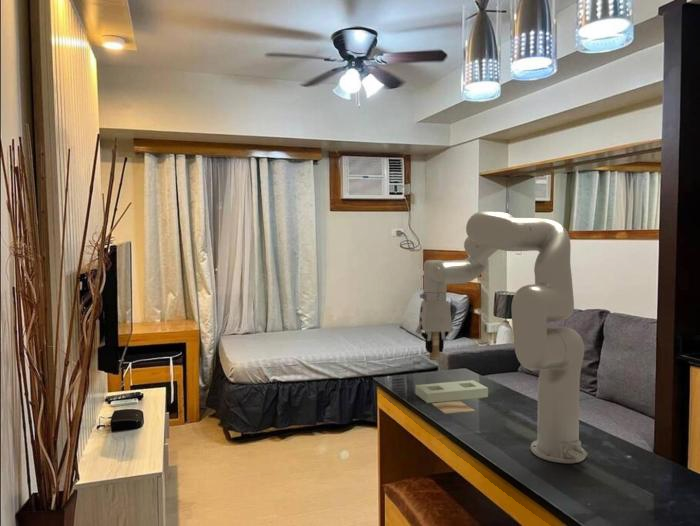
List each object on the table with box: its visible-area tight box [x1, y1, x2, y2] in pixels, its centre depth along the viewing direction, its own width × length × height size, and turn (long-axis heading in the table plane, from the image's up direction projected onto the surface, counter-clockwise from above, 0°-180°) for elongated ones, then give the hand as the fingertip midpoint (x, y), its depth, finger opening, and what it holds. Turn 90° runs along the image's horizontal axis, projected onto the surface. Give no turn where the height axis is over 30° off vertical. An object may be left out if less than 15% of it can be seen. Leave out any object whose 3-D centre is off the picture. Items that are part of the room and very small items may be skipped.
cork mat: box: [431, 400, 476, 415], centre depth 158 cm, size 10×10×1 cm
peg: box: [429, 332, 440, 361], centre depth 167 cm, size 3×3×10 cm
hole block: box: [414, 379, 489, 404], centre depth 170 cm, size 10×22×4 cm, turn 105°
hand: (434, 351), depth 168 cm, fingers closed on peg, 3 cm apart
